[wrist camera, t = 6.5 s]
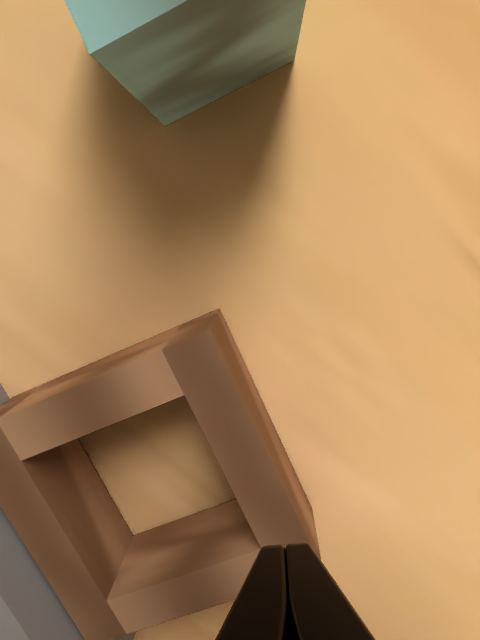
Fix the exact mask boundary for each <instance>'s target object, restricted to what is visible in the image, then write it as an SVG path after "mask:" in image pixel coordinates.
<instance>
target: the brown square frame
mask: <svg viewBox="0 0 480 640" xmlns="http://www.w3.org/2000/svg"><path fill="white" fill-rule="evenodd" d="M181 396H185V398H186V400H187V402H188V404H189V406H190V408H191V410H192V412H193V414H194V416H195V418H196V419H197V421H198V423H199V425H200V427H201V429H202V431H203V433H204V435H205V437H206V439H207V441H208V443H209V445H210V447H211V449H212V451H213V453H214V455H215V457H216V459H217V461H218V463H219V465H220V467H221V469H222V471H223V473H224V475H225V477H226V479H227V481H228V483H229V485H230V487H231V489H232V491H233V493H234V495H235V497H236V499H235V500H232V501H229V502H226V503H224V504H221V505H218V506H215V507H212V508H210V509H207V510H204V511H201V512H198V513H195V514H193V515H190V516H187V517H184V518H181V519H179V520H176V521H173V522H170V523H167V524H165V525H162V526H159V527H156V528H153V529H151V530H148V531H145V532H142V533H139V534H136V535H134V536H133V535H132V533H131V531H130V529H129V528H128V526H127V524H126V522H125V521H124V519H123V517H122V515H121V514H120V512H119V510H118V508H117V507H116V505H115V503H114V501H113V500H112V498H111V496H110V494H109V493H108V491H107V489H106V487H105V486H104V484H103V482H102V480H101V479H100V477H99V475H98V473H97V472H96V470H95V468H94V466H93V465H92V463H91V461H90V459H89V458H88V456H87V454H86V452H85V451H84V449H83V447H82V445H81V444H80V442H79V440H78V438H79V437H82V436H84V435H87V434H89V433H92V432H94V431H97V430H99V429H102V428H104V427H107V426H109V425H112V424H114V423H117V422H119V421H122V420H124V419H126V418H129V417H131V416H134V415H136V414H139V413H141V412H144V411H146V410H149V409H151V408H154V407H156V406H159V405H161V404H164V403H166V402H169V401H171V400H174V399H176V398H179V397H181ZM0 507H1V508H2V510H3V512H4V513H5V515H6V516H7V518H8V519H9V521H10V523H11V524H12V526H13V527H14V529H15V530H16V532H17V534H18V535H19V537H20V538H21V540H22V541H23V543H24V545H25V546H26V548H27V549H28V551H29V552H30V554H31V556H32V557H33V559H34V560H35V562H36V563H37V565H38V567H39V568H40V570H41V571H42V573H43V574H44V576H45V578H46V579H47V581H48V582H49V584H50V585H51V587H52V589H53V590H54V592H55V593H56V595H57V596H58V598H59V600H60V601H61V603H62V604H63V606H64V607H65V609H66V610H67V612H68V614H69V615H70V617H71V618H72V620H73V621H74V623H75V625H76V626H77V628H78V629H79V631H80V632H81V634H82V636H83V637H84V639H85V640H110V639H113V638H116V637H119V636H122V635H125V634H129V633H132V632H135V631H138V630H141V629H144V628H147V627H150V626H154V625H157V624H160V623H163V622H166V621H169V620H172V619H176V618H179V617H182V616H185V615H188V614H191V613H194V612H198V611H201V610H204V609H207V608H210V607H213V606H216V605H219V604H223V603H226V602H229V601H232V600H235V599H236V597H237V595H238V593H239V591H240V589H241V587H242V585H243V583H244V581H245V579H246V577H247V575H248V573H249V571H250V569H251V567H252V565H253V563H254V561H255V559H256V557H257V555H258V553H259V551H260V549H261V548H262V547H263V546H267V545H279V544H282V545H284V547H285V549H286V545H287V544H290V543H301V542H307V543H308V544H309V545H310V546H311V547H312V548H313V550H314V551H315V553H316V554H317V556H318V557H319V559H320V560H321V557H320V551H319V545H318V540H317V534H316V528H315V522H314V517H313V511H312V507H311V505H310V503H309V501H308V499H307V496H306V494H305V492H304V490H303V488H302V486H301V484H300V481H299V479H298V477H297V475H296V473H295V471H294V468H293V466H292V464H291V462H290V460H289V458H288V455H287V453H286V451H285V449H284V447H283V445H282V442H281V440H280V438H279V436H278V434H277V432H276V429H275V427H274V425H273V423H272V421H271V419H270V416H269V414H268V412H267V410H266V408H265V406H264V403H263V401H262V399H261V397H260V395H259V393H258V390H257V388H256V386H255V384H254V382H253V380H252V377H251V375H250V373H249V371H248V369H247V367H246V364H245V362H244V360H243V358H242V356H241V354H240V351H239V349H238V347H237V345H236V343H235V341H234V338H233V336H232V334H231V332H230V330H229V328H228V325H227V323H226V321H225V319H224V317H223V315H222V312H221V310H220V308H219V309H217V310H215V311H212V312H210V313H208V314H205V315H203V316H201V317H198V318H196V319H194V320H191V321H189V322H187V323H184V324H182V325H180V326H177V327H175V328H173V329H170V330H168V331H166V332H163V333H161V334H159V335H157V336H154V337H152V338H150V339H147V340H145V341H143V342H140V343H138V344H136V345H133V346H131V347H129V348H126V349H124V350H122V351H119V352H117V353H115V354H112V355H110V356H108V357H105V358H103V359H101V360H98V361H96V362H94V363H91V364H89V365H87V366H84V367H82V368H80V369H77V370H75V371H73V372H70V373H68V374H66V375H63V376H61V377H59V378H56V379H54V380H52V381H49V382H47V383H45V384H42V385H40V386H38V387H35V388H33V389H31V390H28V391H26V392H24V393H21V394H19V395H17V396H14V397H12V398H11V399H9V400H8V401H6V402H5V403H4V404H2V405H1V406H0Z"/></svg>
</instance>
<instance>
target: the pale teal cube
mask: <svg viewBox="0 0 480 640" xmlns="http://www.w3.org/2000/svg"><path fill="white" fill-rule="evenodd" d="M65 2H66V5H67V7H68V9H69V11H70V13H71V15H72V17H73V20H74V22H75V24H76V26H77V28H78V30H79V32H80V35H81V37H82V39H83V41H84V43H85V45H86V47H87V49H88V52H89V54H90V55H91V56H92V57H93V58H94V59H95V60H96V61H97V62H98V63H99V64H100V65H101V66H103V67H104V68H105V69H106V70H107V71H108V72H109V73H110V74H111V75H112V76H113V77H114V78H115V79H116V80H117V81H118V82H119V83H120V84H121V85H122V86H123V87H124V88H125V89H126V90H127V91H128V92H129V93H131V94H132V95H133V96H134V97H135V98H136V99H137V100H138V101H139V102H140V103H141V104H142V105H143V106H144V107H145V108H146V109H147V110H148V111H149V112H150V113H151V114H152V115H153V116H154V117H155V118H156V119H158V120H159V121H160V122H161V123H162V124H163V125H164V126H166V125H168V124H170V123H172V122H174V121H176V120H178V119H180V118H182V117H184V116H185V115H187V114H189V113H191V112H193V111H195V110H197V109H199V108H201V107H203V106H205V105H207V104H209V103H211V102H213V101H215V100H217V99H219V98H221V97H223V96H225V95H227V94H229V93H231V92H233V91H235V90H237V89H239V88H241V87H243V86H245V85H246V84H248V83H250V82H252V81H254V80H256V79H258V78H260V77H262V76H264V75H266V74H268V73H270V72H272V71H274V70H276V69H278V68H280V67H282V66H284V65H286V64H288V63H290V62H292V61H294V59H295V54H296V49H297V44H298V38H299V33H300V28H301V23H302V18H303V13H304V8H305V3H306V0H65Z"/></svg>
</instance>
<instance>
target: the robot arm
mask: <svg viewBox="0 0 480 640" xmlns="http://www.w3.org/2000/svg"><path fill="white" fill-rule="evenodd" d="M215 640H375V638H374V637H373V635H372V634H371V633H370V631H369V630H368V628H367V627H366V625H365V624H364V622H363V621H362V620H361V618H360V617H359V615H358V614H357V612H356V611H355V609H354V608H353V606H352V605H351V604H350V602H349V601H348V599H347V598H346V596H345V595H344V593H343V592H342V591H341V589H340V588H339V586H338V585H337V583H336V582H335V580H334V579H333V577H332V576H331V575H330V573H329V572H328V570H327V569H326V567H325V566H324V564H323V563H322V562H321V560H320V559H319V557H318V556H317V554H316V553H315V551H314V550H313V548H312V547H311V546H310V545H309V544H308V543H307V542H301V543H290V544H287V545H286V549H285V547H284V545H282V544H279V545H267V546H263V547H262V548H261V549H260V551H259V553H258V555H257V557H256V559H255V561H254V563H253V565H252V567H251V569H250V571H249V573H248V575H247V577H246V579H245V581H244V583H243V585H242V587H241V589H240V591H239V593H238V595H237V597H236V599H235V601H234V603H233V605H232V607H231V609H230V611H229V613H228V615H227V617H226V619H225V621H224V623H223V625H222V627H221V629H220V631H219V633H218V635H217V637H216V639H215Z"/></svg>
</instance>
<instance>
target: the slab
mask: <svg viewBox="0 0 480 640" xmlns="http://www.w3.org/2000/svg"><path fill="white" fill-rule="evenodd" d="M8 400H9V398H8V396H7V395H6V393H5V391H4V390H3V388H2V386H1V385H0V406H1V405H2V404H4V403H5V402H6V401H8ZM135 633H136V631H135V632H132V633H129V634H125V635H122V636H119V637H116V638H113V639H110V640H133V639H134V636H135ZM0 640H85V639H84V637H83V636H82V634H81V632H80V631H79V629H78V628H77V626H76V625H75V623H74V621H73V620H72V618H71V617H70V615H69V614H68V612H67V610H66V609H65V607H64V606H63V604H62V603H61V601H60V600H59V598H58V596H57V595H56V593H55V592H54V590H53V589H52V587H51V585H50V584H49V582H48V581H47V579H46V578H45V576H44V574H43V573H42V571H41V570H40V568H39V567H38V565H37V563H36V562H35V560H34V559H33V557H32V556H31V554H30V552H29V551H28V549H27V548H26V546H25V545H24V543H23V541H22V540H21V538H20V537H19V535H18V534H17V532H16V530H15V529H14V527H13V526H12V524H11V523H10V521H9V519H8V518H7V516H6V515H5V513H4V512H3V510H2V508H1V507H0Z"/></svg>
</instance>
